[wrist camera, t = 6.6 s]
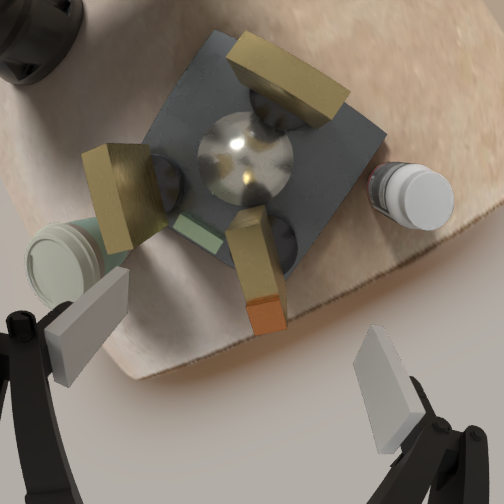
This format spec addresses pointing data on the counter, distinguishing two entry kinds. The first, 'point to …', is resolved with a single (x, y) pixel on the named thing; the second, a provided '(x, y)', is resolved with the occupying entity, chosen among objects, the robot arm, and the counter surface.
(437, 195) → the pill bottle
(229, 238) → the tan bar on disc
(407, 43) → the counter surface
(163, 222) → the foot screw
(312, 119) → the foot screw
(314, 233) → the plate
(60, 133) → the counter surface
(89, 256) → the coffee cup
